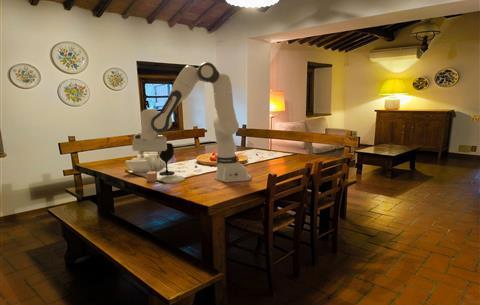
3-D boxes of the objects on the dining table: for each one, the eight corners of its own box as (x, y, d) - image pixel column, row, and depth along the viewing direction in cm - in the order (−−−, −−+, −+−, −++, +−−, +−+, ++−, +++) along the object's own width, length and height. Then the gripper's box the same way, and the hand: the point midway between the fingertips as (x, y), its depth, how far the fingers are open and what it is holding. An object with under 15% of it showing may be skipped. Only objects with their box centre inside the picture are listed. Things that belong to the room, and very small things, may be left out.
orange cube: (157, 179, 194) (156, 171, 193) (155, 181, 189) (154, 173, 188) (149, 179, 194) (148, 171, 193) (147, 181, 189) (146, 173, 188)
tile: (186, 176, 199) (186, 175, 199) (182, 182, 185) (182, 181, 185) (164, 177, 199) (164, 175, 198) (159, 183, 185) (159, 181, 185)
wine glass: (159, 176, 201) (157, 145, 198) (158, 172, 211) (157, 143, 207) (175, 174, 204) (174, 144, 200) (174, 171, 214) (173, 142, 210)
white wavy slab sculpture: (144, 175, 204) (143, 159, 202) (123, 173, 209) (122, 158, 207) (171, 164, 237) (170, 150, 235) (152, 162, 241) (151, 149, 240)
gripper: (167, 134, 190) (168, 156, 192) (133, 134, 189) (135, 157, 192) (165, 136, 184) (166, 159, 186) (130, 136, 183) (132, 159, 185)
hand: (150, 158), depth 189 cm, fingers open, 8 cm apart
